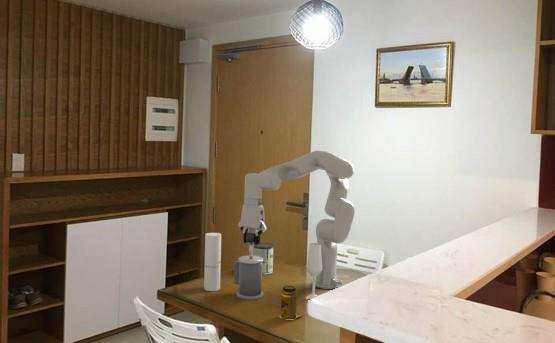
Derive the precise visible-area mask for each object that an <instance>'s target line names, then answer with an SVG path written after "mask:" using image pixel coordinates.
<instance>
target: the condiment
mask: <svg viewBox="0 0 555 343" xmlns="http://www.w3.org/2000/svg"><path fill="white" fill-rule="evenodd" d="M297 300H298V295H297V287H296V286H293V285H283V287H282V292H281V297H280V302H281V303H280V315H281V317H282V318H283V319H295V318H296V314H297V303H298V302H297ZM283 319H282V320H283Z"/></svg>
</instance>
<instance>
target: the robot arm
mask: <svg viewBox="0 0 555 343" xmlns="http://www.w3.org/2000/svg"><path fill="white" fill-rule="evenodd" d="M354 167H355V166H354V165H353V163H352V162H351V161H349V160H348V159H345V158H343V157H340V156H339V155H336V154H334V153H332V152H329V151H326V150H313V151H311V152H308V153H306V154H305V155H302V156H300V157H298V158H295V159H293V160H291V161H286V162H284V163H280V164H277V165H273V166H271V167H269V168H267V169H264V170H262V171H261V172H259V173H251V172H250V173H246V174H245V177H244V197H243V199H244V200H243V205H242V209H241V216H240V220H239V222H238V223H237V226H238V227H239V229H240V231H241V233H242V234H243V239H242V240H243V244H246V243H248V242H246V233H247V232H250V231H249V230H250V229H253V230H254V232H255V234H256V236H255V237H254V243H253V246H254V245H258V244H260V243H261V236H262V234H263V233H264V232H266V231H267V229H268V228H267V226H266V221H265V220H266V218H265V217H266V216H265V208H264V205H263V204H264V200H263V195H262V194H263V191H267V192H269V191H271V192H274V191H277V190H278V189H280V187H281V185H282V181H285V180H296V179H300V178H303V177H305V176H307V175H310V174H312V173H313V172H316V171H318V170H321V171H322V170H323V171H325V173H326V175H327V177H328V179H329V181H330V188H329V193H328V195H327V199H326V202H325V205H324V212H325V214H326V215H327V216H329V217H331V218H333V219H334V220H332V219H329V218H324V219H321V220H319V221H318V222H317V224H316V226H315V236H316V243H319V244H321V256H322V271H321V273H320V274H319V275H317V276H316V277H315V288H318V289H325V290H332V289H337V288H338V287H339V286H343V285H344V280H343V279H339V276H338V275H337V265H338V264H337V263H338V262H337V261H338V259H337V258H338V244H342V243H344V242H345V241H346V240H347V239H348V236H349V234H350V231H351V228H352V224H353V221H354V217H355V207H354V204H353V203H352V202H351V201H350V200H348V199H347V197H348V193H349V182H348V181H349V180H348V179H350V178H352V176H354V172H355V168H354ZM311 284H313V281H312V282H311Z"/></svg>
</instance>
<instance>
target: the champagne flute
mask: <svg viewBox="0 0 555 343" xmlns="http://www.w3.org/2000/svg"><path fill="white" fill-rule="evenodd" d="M306 265H307V266H306V272H308V274H309V275H310V276H311V277H312V282H313V284H312V283H311V284H312V289H311V294H309V295H307V296H305V299H306V300H308V299H309V298H310V299H311V298H313V297H315V296H318V295H317V294H315V293H316V287H315V280H316V276H317V275H319V274H320V273H321V271H322V256H321V244H319V243H317V242H311V243H309V250H308V258H307V264H306Z"/></svg>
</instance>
